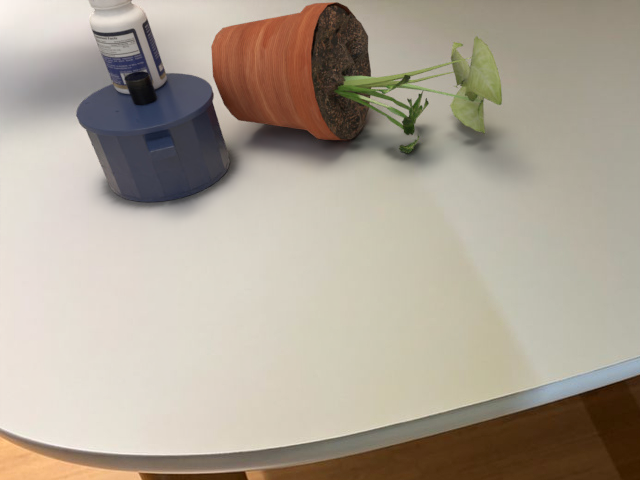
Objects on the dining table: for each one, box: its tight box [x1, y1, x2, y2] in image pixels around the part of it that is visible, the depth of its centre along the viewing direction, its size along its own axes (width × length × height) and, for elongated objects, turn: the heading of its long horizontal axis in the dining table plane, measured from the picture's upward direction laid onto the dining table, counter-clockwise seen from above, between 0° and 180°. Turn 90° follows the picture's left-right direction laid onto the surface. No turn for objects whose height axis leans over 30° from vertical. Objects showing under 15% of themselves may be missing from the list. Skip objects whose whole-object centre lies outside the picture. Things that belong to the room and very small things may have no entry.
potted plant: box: [210, 1, 503, 154], centre depth 86 cm, size 16×15×35 cm
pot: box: [85, 100, 230, 203], centre depth 85 cm, size 13×18×8 cm
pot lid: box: [75, 72, 214, 136], centre depth 81 cm, size 13×13×4 cm
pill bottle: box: [87, 0, 167, 94], centre depth 81 cm, size 5×5×10 cm
